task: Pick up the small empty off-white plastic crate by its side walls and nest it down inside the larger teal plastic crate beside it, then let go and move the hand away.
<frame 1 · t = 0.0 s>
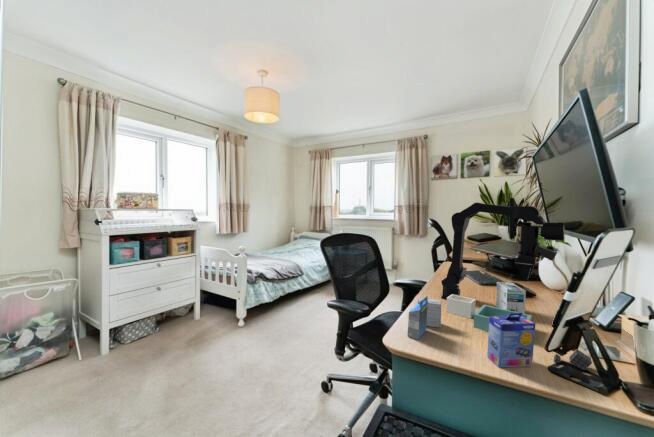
hand: (527, 278, 107), 15 cm above the table, tool pointing down, fingers open, 9 cm apart
ink cartridge box: (509, 362, 76), on the table
small crate: (460, 313, 110), on the table
label tape box: (417, 333, 92), on the table
medicine box: (428, 324, 99), on the table
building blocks: (568, 365, 75), on the table
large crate: (502, 328, 96), on the table
light bulb box: (509, 312, 111), on the table
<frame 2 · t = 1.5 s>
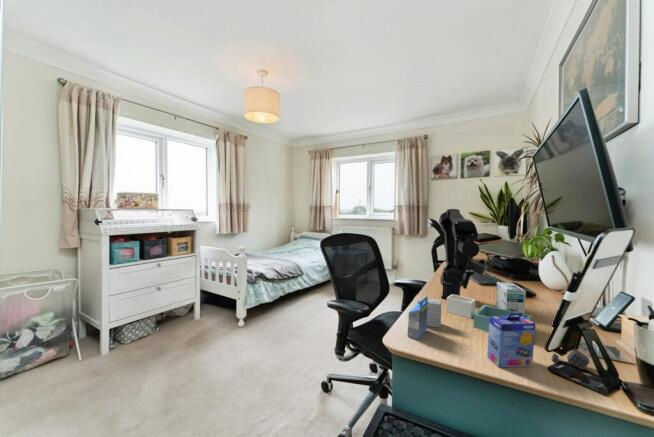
hand: (461, 291, 109), 9 cm above the table, tool pointing down, fingers open, 9 cm apart
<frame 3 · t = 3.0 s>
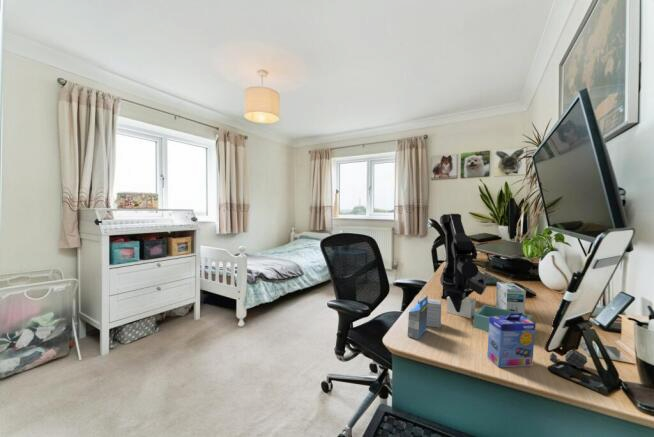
hand: (460, 309, 110), 1 cm above the table, tool pointing down, fingers closed on small crate, 6 cm apart
small crate: (460, 312, 110), on the table, touching gripper
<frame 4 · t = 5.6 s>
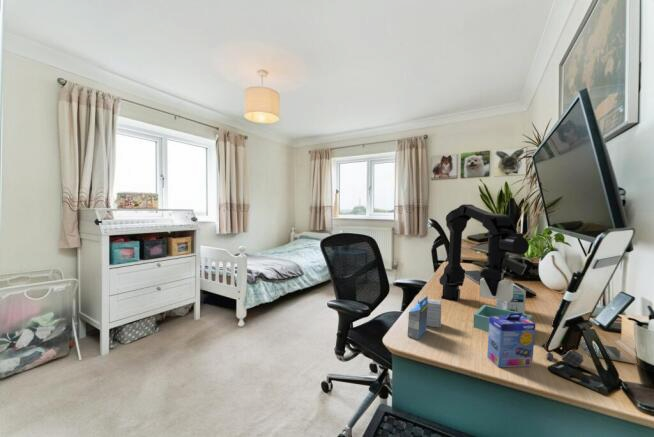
hand: (496, 293, 98), 12 cm above the table, tool pointing down, fingers closed on small crate, 6 cm apart
small crate: (496, 297, 98), point 10 cm above the table, touching gripper
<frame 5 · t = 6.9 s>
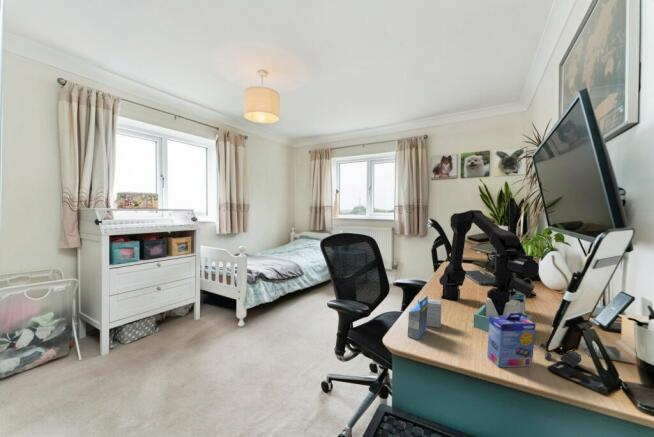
hand: (502, 313, 96), 5 cm above the table, tool pointing down, fingers closed on small crate, 6 cm apart
small crate: (502, 317, 96), point 4 cm above the table, touching gripper
when the fingers open (4 cm above the table, at t = 8.0 s): small crate drops 2 cm, resting on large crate.
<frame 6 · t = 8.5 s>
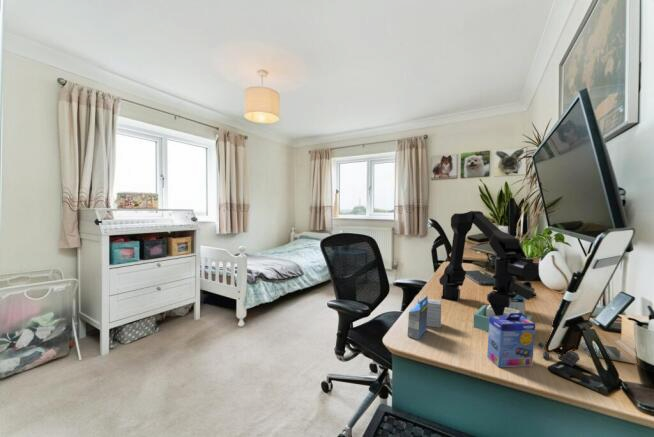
hand: (502, 316, 96), 4 cm above the table, tool pointing down, fingers open, 9 cm apart
small crate: (502, 326, 97), point 1 cm above the table, touching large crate
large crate: (502, 329, 96), on the table, touching small crate
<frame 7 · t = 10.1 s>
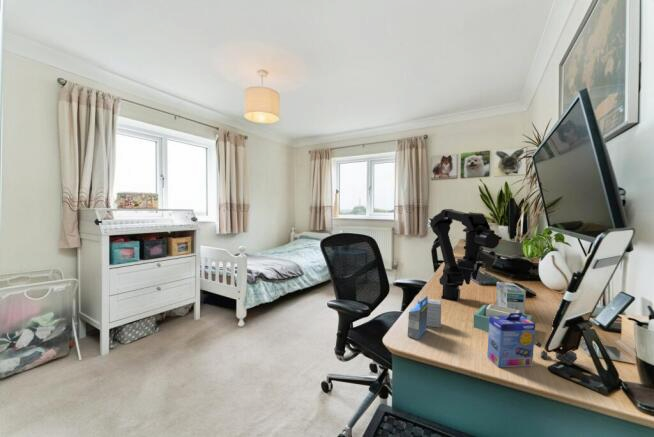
hand: (471, 281, 112), 12 cm above the table, tool pointing down, fingers open, 9 cm apart
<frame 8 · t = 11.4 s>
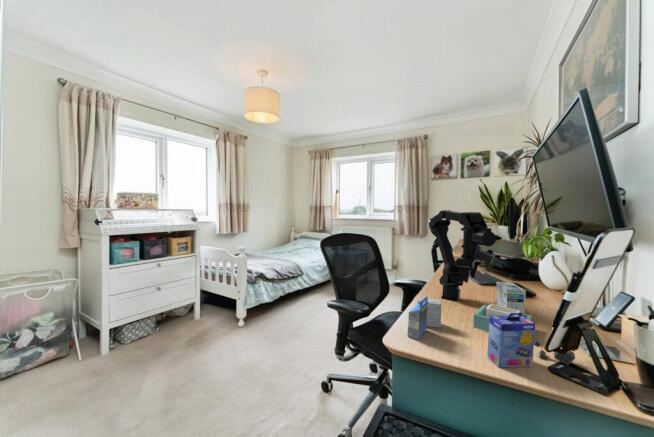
hand: (469, 280, 113), 12 cm above the table, tool pointing down, fingers open, 9 cm apart
at the end: small crate 0.1 cm off-centre on the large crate, point 1.0 cm above the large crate's base; small crate tilted 0°; the gripper is holding nothing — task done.
